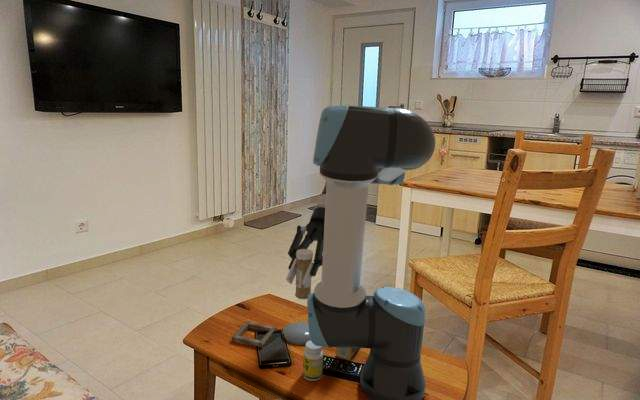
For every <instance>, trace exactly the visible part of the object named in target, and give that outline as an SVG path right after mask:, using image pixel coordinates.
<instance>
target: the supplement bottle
mask: <svg viewBox="0 0 640 400" xmlns="http://www.w3.org/2000/svg"><path fill="white" fill-rule="evenodd" d="M304 346H305V347H304V351H303V360H302V361H303V364H302V365H303V366H302V375H303V377H304V379H305V380H307V381H310V382H316V381H319V380H320V379H321V378H323V365H324V364H323V363H324V362H323V361H324V351H323V346H316V345H314V344H313V343H312V342H311V340H310V341H308V342H307V343H306V345H304Z"/></svg>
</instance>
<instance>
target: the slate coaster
mask: <svg viewBox="0 0 640 400" xmlns="http://www.w3.org/2000/svg"><path fill="white" fill-rule="evenodd" d="M283 334H284V337H285V339H286V340H285V339H284V340H285V341H286V342H288V343H290V344H293V345H297V346H299V345H300V346H306V343H307V342H308V341H310V340H311V339H310V334H309V326H308V321H306V322H305V321H297V322H296V321H295V322H292V323H289V324H287V325H285V326H284V328H283V329H282V335H283Z"/></svg>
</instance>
